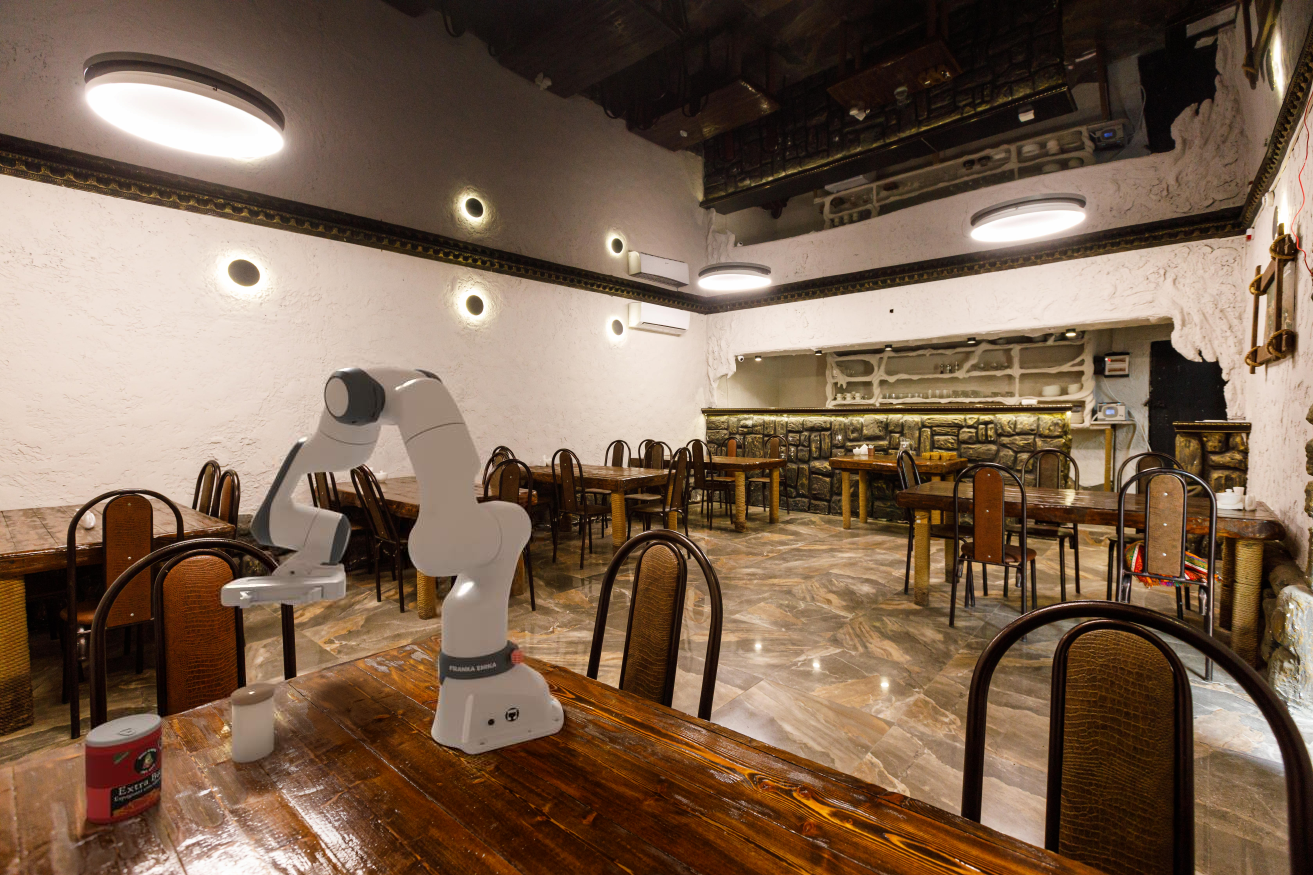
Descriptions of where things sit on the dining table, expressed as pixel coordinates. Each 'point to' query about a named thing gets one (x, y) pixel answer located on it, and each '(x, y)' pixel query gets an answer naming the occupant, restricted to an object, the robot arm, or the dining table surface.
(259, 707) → the spice jar
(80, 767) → the dining table surface
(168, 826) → the dining table surface
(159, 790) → the canned food
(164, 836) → the dining table surface
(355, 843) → the dining table surface
